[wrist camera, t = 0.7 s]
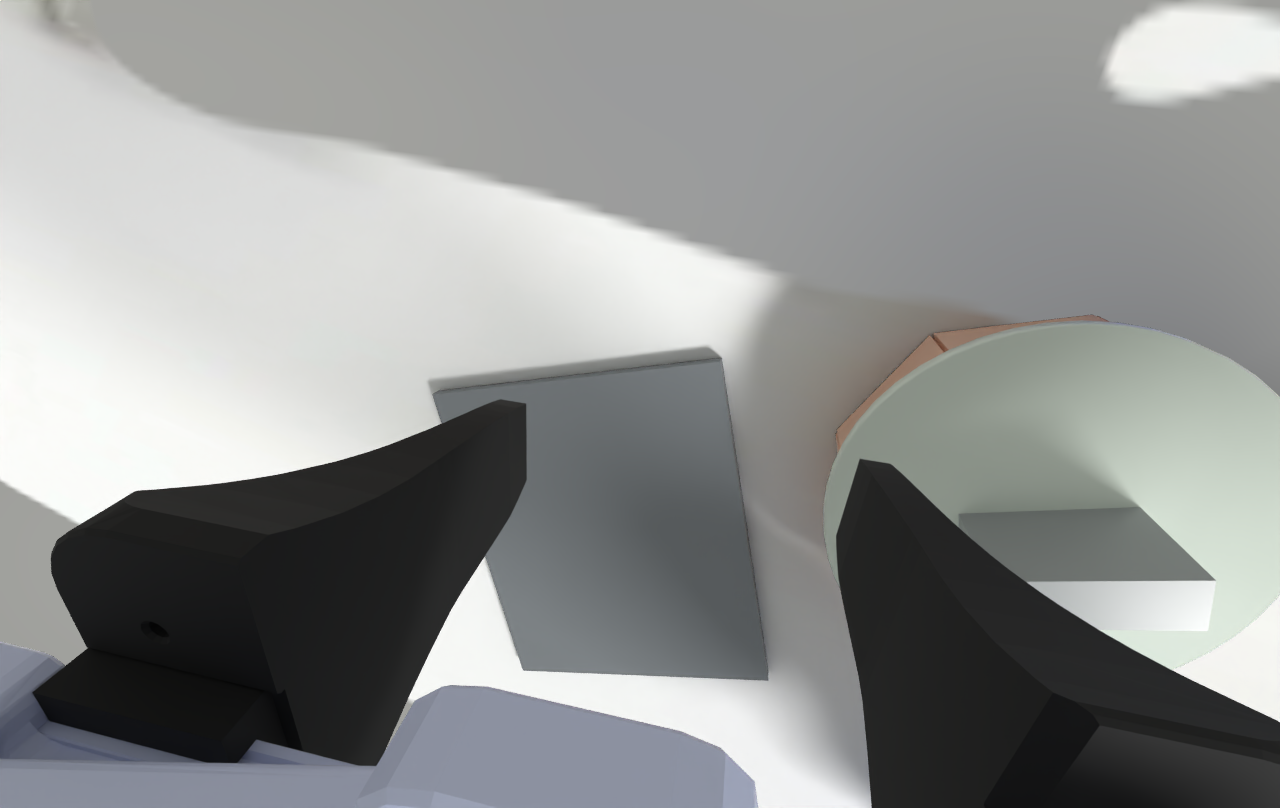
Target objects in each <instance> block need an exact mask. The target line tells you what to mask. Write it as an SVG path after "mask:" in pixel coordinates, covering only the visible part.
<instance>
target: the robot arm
mask: <svg viewBox="0 0 1280 808" xmlns="http://www.w3.org/2000/svg"><path fill="white" fill-rule="evenodd" d="M526 481H527V430H526V403H520V402H514V401H508V400H502V399H499V400H496V401H493V402H490V403H488V404H485V405H483V406H481V407H478V408H476V409H474V410H471V411H469V412H467V413H465V414H463V415H460V416H458V417H456V418H453V419H451V420H449V421H447V422H444V423H442V424H440V425H438V426H435V427H433V428H431V429H428V430H426V431H423V432H421V433H418V434H416V435H413V436H411V437H408V438H406V439H403V440H400V441H398V442H395V443H393V444H390V445H388V446H385V447H382V448H379V449H376V450H373V451H370V452H367V453H364V454H360V455H357V456H354V457H350V458H347V459H343V460H340V461H336V462H332V463H328V464H324V465H319V466H315V467H310V468H306V469H302V470H297V471H293V472H288V473H284V474H278V475H273V476H267V477H261V478H255V479H249V480H242V481H235V482H228V483H220V484H212V485H202V486H191V487H179V488H168V489H157V490H142V491H135V492H133V493H131V494H130V495H128V496H126V497H125V498H123V499H122V500H120V501H118V502H117V503H115V504H114V505H112V506H110V507H109V508H107V509H105V510H104V511H102V512H100V513H99V514H97V515H95V516H94V517H92V518H90V519H89V520H87V521H85V522H84V523H82V524H80V525H79V526H77V527H76V528H74V529H72V530H70V531H69V532H67V533H66V534H65V535H63V536H62V537H61V538H59V539H58V540H57V541H56V544H55V546H54V548H53V551H52V554H51V570H52V571H51V572H52V576H53V578H54V581H55V584H56V587H57V589H58V591H59V593H60V595H61V597H62V599H63V601H64V603H65V605H66V607H67V609H68V611H69V613H70V615H71V617H72V619H73V621H74V623H75V625H76V627H77V629H78V631H79V632H80V634H81V636H82V638H83V640H84V642H85V644H86V646H87V647H88V649H86V650H85V651H84V652H83V653H81V654H80V655H79V656H77V657H76V658H75V659H74V660H72V661H71V662H70V663H69V664H68V665H66V666H65V665H64V664H63V663H62V662H61V661H59V660H58V659H56V658H55V657H54V656H52V655H49V654H47V653H44V652H42V651H37V650H34V649H30V648H26V647H22V646H18V645H13V644H9V643H5V642H1V641H0V808H758V803H757V796H756V789H755V782H754V781H753V780H752V779H751V778H750V777H749V776H748V775H747V774H746V773H745V772H744V771H743V770H742V769H741V768H740V767H739V766H738V765H737V764H736V763H735V762H734V761H733V760H732V759H731V758H730V757H729V756H728V755H727V754H726V753H725V752H724V751H723V750H722V749H721V748H720V747H717V746H715V745H713V744H710V743H708V742H705V741H703V740H700V739H698V738H696V737H693V736H691V735H688V734H686V733H683V732H681V731H677V730H673V729H669V728H664V727H660V726H656V725H651V724H647V723H643V722H638V721H634V720H630V719H625V718H621V717H617V716H612V715H608V714H604V713H599V712H595V711H591V710H586V709H582V708H578V707H573V706H569V705H565V704H560V703H556V702H551V701H547V700H543V699H538V698H534V697H530V696H525V695H521V694H517V693H512V692H508V691H504V690H499V689H495V688H491V687H480V686H457V685H450V686H444V687H441V688H439V689H437V690H435V691H433V692H431V693H429V694H427V695H425V696H423V697H421V698H419V699H417V700H415V701H414V703H413V705H412V706H411V708H410V710H409V712H408V713H407V715H406V717H405V718H404V720H403V722H402V723H401V725H400V727H399V729H398V730H397V732H396V734H395V736H394V737H393V739H392V740H391V742H390V744H389V746H388V747H387V745H388V742H389V740H390V738H391V736H392V734H393V731H394V729H395V727H396V724H397V722H398V720H399V718H400V715H401V713H402V711H403V708H404V706H405V704H406V702H407V700H408V697H409V695H410V693H411V691H412V689H413V687H414V684H415V682H416V680H417V678H418V676H419V674H420V672H421V670H422V667H423V665H424V663H425V661H426V659H427V657H428V655H429V653H430V651H431V649H432V647H433V645H434V643H435V641H436V639H437V637H438V635H439V633H440V631H441V629H442V627H443V625H444V623H445V621H446V619H447V617H448V615H449V613H450V611H451V609H452V607H453V606H454V604H455V602H456V600H457V599H458V597H459V595H460V594H461V592H462V590H463V589H464V587H465V586H466V584H467V583H468V581H469V580H470V578H471V577H472V575H473V573H474V572H475V570H476V569H477V567H478V566H479V564H480V563H481V561H482V560H483V558H484V557H485V555H486V554H487V552H488V550H489V549H490V547H491V546H492V544H493V543H494V541H495V540H496V538H497V537H498V535H499V533H500V532H501V530H502V529H503V527H504V526H505V524H506V522H507V521H508V519H509V517H510V516H511V514H512V512H513V510H514V507H515V505H516V503H517V501H518V499H519V497H520V494H521V492H522V490H523V488H524V485H525V483H526ZM836 550H837V567H838V579H839V584H840V590H841V594H842V599H843V604H844V609H845V614H846V619H847V623H848V628H849V633H850V638H851V642H852V647H853V652H854V656H855V661H856V666H857V671H858V675H859V681H860V687H861V694H862V700H863V710H864V721H865V731H866V741H867V752H868V765H869V777H870V790H871V803H872V808H1280V722H1278V721H1277V720H1275V719H1272V718H1270V717H1268V716H1266V715H1264V714H1262V713H1260V712H1258V711H1255V710H1253V709H1251V708H1249V707H1247V706H1245V705H1243V704H1241V703H1239V702H1236V701H1234V700H1232V699H1230V698H1228V697H1226V696H1224V695H1222V694H1219V693H1217V692H1215V691H1213V690H1211V689H1209V688H1207V687H1205V686H1203V685H1200V684H1198V683H1196V682H1194V681H1192V680H1190V679H1188V678H1186V677H1184V676H1182V675H1180V674H1178V673H1176V672H1174V671H1172V670H1170V669H1169V668H1167V667H1165V666H1163V665H1161V664H1159V663H1157V662H1156V661H1154V660H1152V659H1150V658H1148V657H1146V656H1144V655H1142V654H1141V653H1139V652H1137V651H1135V650H1133V649H1131V648H1130V647H1128V646H1126V645H1124V644H1123V643H1121V642H1119V641H1117V640H1116V639H1114V638H1112V637H1110V636H1109V635H1107V634H1105V633H1103V632H1102V631H1100V630H1098V629H1097V628H1095V627H1094V626H1092V625H1090V624H1089V623H1087V622H1086V621H1084V620H1082V619H1081V618H1079V617H1078V616H1076V615H1074V614H1073V613H1071V612H1070V611H1068V610H1066V609H1065V608H1063V607H1062V606H1060V605H1059V604H1057V603H1056V602H1054V601H1053V600H1051V599H1050V598H1048V597H1047V596H1045V595H1044V594H1042V593H1041V592H1039V591H1038V590H1037V589H1035V588H1034V587H1032V586H1031V585H1030V584H1028V583H1027V582H1026V581H1024V580H1023V579H1021V578H1020V577H1019V576H1017V575H1016V574H1015V573H1013V572H1012V571H1010V570H1009V569H1008V568H1007V567H1005V566H1004V565H1003V564H1001V563H1000V562H999V561H998V560H996V559H995V558H994V557H993V556H991V555H990V554H989V553H988V552H987V551H985V550H984V549H983V548H982V547H981V546H979V545H978V544H977V543H976V542H975V541H974V540H972V539H971V538H970V537H969V536H968V535H967V534H965V533H964V532H963V531H962V530H961V529H960V528H959V527H958V526H956V525H955V524H954V523H953V522H952V521H951V520H950V519H949V518H948V517H947V516H946V515H945V514H944V513H942V512H941V511H940V510H939V509H938V508H937V507H936V506H935V505H934V504H933V503H932V502H931V501H930V500H929V499H928V498H927V497H926V496H925V495H924V494H923V493H922V492H921V491H920V490H919V489H918V488H916V487H915V486H914V485H913V484H912V483H911V482H910V481H909V480H908V479H907V478H906V477H905V476H904V475H903V474H902V473H901V472H900V471H899V470H897V469H896V468H895V467H894V466H893V465H891V464H889V463H883V462H877V461H871V460H865V459H859V463H858V466H857V469H856V472H855V476H854V479H853V482H852V485H851V489H850V492H849V495H848V498H847V502H846V505H845V508H844V511H843V515H842V518H841V521H840V524H839V528H838V531H837V534H836ZM386 747H387V749H386ZM385 750H386V751H385Z"/></svg>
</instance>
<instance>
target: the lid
mask: <svg viewBox="0 0 1280 808" xmlns="http://www.w3.org/2000/svg"><path fill="white" fill-rule="evenodd" d="M859 459H865V460H871V461H877V462H883V463H889V464H891V465H893V466H894V467H895V468H896V469H897V470H899V471H900V472H901V473H902V474H903V475H904V476H905V477H906V478H907V479H908V480H909V481H910V482H911V483H912V484H913V485H914V486H915V487H916V488H918V489H919V490H920V491H921V492H922V493H923V494H924V495H925V496H926V497H927V498H928V499H929V500H930V501H931V502H932V503H933V504H934V505H935V506H936V507H937V508H938V509H939V510H940V511H941V512H942V513H944V514H945V515H946V516H947V517H948V518H949V519H950V520H951V521H952V522H953V523H954V524H955V525H956V526H958V527H959V528H960V529H961V530H962V531H963V532H964V533H965V534H967V535H968V536H969V537H970V538H971V539H972V540H974V541H975V542H976V543H977V544H978V545H979V546H981V547H982V548H983V549H984V550H985V551H987V552H988V553H989V554H990V555H991V556H993V557H994V558H995V559H996V560H998V561H999V562H1000V563H1001V564H1003V565H1004V566H1005V567H1007V568H1008V569H1009V570H1010V571H1012V572H1013V573H1015V574H1016V575H1017V576H1019V577H1020V578H1021V579H1023V580H1024V581H1026V582H1027V583H1028V584H1030V585H1031V586H1032V587H1034V588H1035V589H1037V590H1038V591H1039V592H1041V593H1042V594H1044V595H1045V596H1047V597H1048V598H1050V599H1051V600H1053V601H1054V602H1056V603H1057V604H1059V605H1060V606H1062V607H1063V608H1065V609H1066V610H1068V611H1070V612H1071V613H1073V614H1074V615H1076V616H1078V617H1079V618H1081V619H1082V620H1084V621H1086V622H1087V623H1089V624H1090V625H1092V626H1094V627H1095V628H1097V629H1098V630H1100V631H1102V632H1103V633H1105V634H1107V635H1109V636H1110V637H1112V638H1114V639H1116V640H1117V641H1119V642H1121V643H1123V644H1124V645H1126V646H1128V647H1130V648H1131V649H1133V650H1135V651H1137V652H1139V653H1141V654H1142V655H1144V656H1146V657H1148V658H1150V659H1152V660H1154V661H1156V662H1157V663H1159V664H1161V665H1163V666H1165V667H1167V668H1169V669H1170V670H1173V669H1175V668H1178V667H1181V666H1183V665H1185V664H1187V663H1189V662H1191V661H1193V660H1195V659H1197V658H1199V657H1201V656H1203V655H1205V654H1207V653H1209V652H1211V651H1212V650H1214V649H1216V648H1217V647H1219V646H1220V645H1222V644H1224V643H1225V642H1227V641H1228V640H1230V639H1232V638H1233V637H1235V636H1236V635H1237V634H1238V633H1240V632H1241V631H1242V630H1243V629H1245V628H1246V627H1247V626H1248V625H1250V624H1251V623H1252V622H1254V621H1255V620H1256V619H1257V618H1258V617H1259V616H1260V615H1261V614H1262V613H1263V612H1264V611H1265V610H1266V609H1267V608H1268V607H1269V606H1270V605H1271V604H1272V603H1273V602H1274V601H1275V600H1276V599H1277V598H1278V596H1279V595H1280V397H1279V396H1278V395H1277V394H1276V393H1275V392H1274V391H1273V390H1272V389H1270V388H1269V387H1268V386H1267V385H1266V384H1265V383H1264V382H1263V381H1262V380H1261V379H1259V378H1258V377H1257V376H1256V375H1255V374H1253V373H1251V372H1250V371H1248V370H1247V369H1245V368H1244V367H1242V366H1241V365H1239V364H1238V363H1236V362H1234V361H1233V360H1231V359H1230V358H1228V357H1226V356H1224V355H1221V354H1219V353H1217V352H1215V351H1213V350H1210V349H1208V348H1206V347H1204V346H1202V345H1199V344H1197V343H1194V342H1192V341H1190V340H1188V339H1186V338H1183V337H1179V336H1176V335H1173V334H1169V333H1166V332H1163V331H1159V330H1156V329H1153V328H1148V327H1142V326H1136V325H1130V324H1124V323H1119V322H1102V321H1083V320H1081V321H1064V322H1048V323H1041V324H1035V325H1029V326H1023V327H1017V328H1012V329H1008V330H1005V331H1001V332H998V333H994V334H991V335H987V336H983V337H980V338H977V339H975V340H972V341H970V342H967V343H965V344H962V345H960V346H957V347H955V348H952V349H950V350H948V351H946V352H944V353H942V354H940V355H938V356H937V357H935V358H933V359H931V360H929V361H927V362H925V363H924V364H922V365H920V366H919V367H917V368H916V369H914V370H913V371H911V372H910V373H908V374H907V375H906V376H904V377H903V378H901V379H900V380H898V381H897V382H896V383H894V384H893V385H892V386H891V387H890V388H889V389H888V390H887V391H885V392H884V393H883V394H882V395H881V396H880V397H879V398H878V399H876V400H875V401H874V402H873V404H872V405H871V406H870V407H869V408H868V409H867V410H866V412H865V413H864V414H863V415H862V416H861V417H860V418H859V420H858V421H857V422H856V424H855V425H854V427H853V428H852V430H851V431H850V433H849V434H848V436H847V437H846V439H845V440H844V442H843V444H842V446H841V448H840V450H839V452H838V454H837V456H836V458H835V460H834V462H833V465H832V468H831V472H830V475H829V478H828V481H827V485H826V491H825V498H824V505H823V527H824V538H825V544H826V549H827V555H828V560H829V563H830V565H831V568H832V571H833V574H834V577H835V579H836V581H837V583H838V585H839V587H840V584H839V579H838V567H837V550H836V534H837V531H838V528H839V524H840V521H841V518H842V515H843V511H844V508H845V505H846V502H847V498H848V495H849V492H850V489H851V485H852V482H853V479H854V476H855V472H856V469H857V466H858V463H859Z"/></svg>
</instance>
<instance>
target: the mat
mask: <svg viewBox="0 0 1280 808" xmlns="http://www.w3.org/2000/svg"><path fill="white" fill-rule="evenodd" d="M433 398H434V401H435V404H436V407H437V410H438V413H439V416H440V419H441V422H442V423H444V422H447V421H449V420H451V419H453V418H456V417H458V416H460V415H463V414H465V413H467V412H469V411H471V410H474V409H476V408H478V407H481V406H483V405H485V404H488V403H490V402H493V401H496V400H499V399H502V400H508V401H514V402H520V403H526V430H527V481H526V483H525V485H524V488H523V490H522V492H521V494H520V497H519V499H518V501H517V503H516V505H515V507H514V510H513V512H512V514H511V516H510V517H509V519H508V521H507V522H506V524H505V526H504V527H503V529H502V530H501V532H500V533H499V535H498V537H497V538H496V540H495V541H494V543H493V544H492V546H491V547H490V549H489V550H488V552H487V554H486V555H485V556H486V559H487V562H488V565H489V568H490V571H491V574H492V577H493V580H494V583H495V586H496V589H497V593H498V596H499V599H500V602H501V605H502V608H503V611H504V614H505V617H506V620H507V623H508V626H509V629H510V632H511V635H512V638H513V641H514V644H515V647H516V650H517V653H518V656H519V659H520V662H521V666H522V669H523V670H524V671H548V672H573V673H597V674H621V675H646V676H670V677H694V678H719V679H743V680H767V681H768V666H767V660H766V653H765V646H764V640H763V633H762V626H761V619H760V613H759V606H758V599H757V592H756V586H755V579H754V572H753V566H752V559H751V552H750V545H749V539H748V532H747V525H746V518H745V512H744V505H743V498H742V492H741V485H740V478H739V471H738V465H737V458H736V451H735V445H734V438H733V431H732V424H731V418H730V411H729V404H728V397H727V391H726V384H725V377H724V371H723V364H722V358H716V359H707V360H699V361H690V362H681V363H673V364H664V365H656V366H647V367H638V368H630V369H621V370H613V371H604V372H596V373H587V374H578V375H570V376H561V377H553V378H544V379H535V380H527V381H518V382H510V383H501V384H493V385H484V386H475V387H467V388H458V389H450V390H441V391H437V392H436V393H434V394H433Z"/></svg>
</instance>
